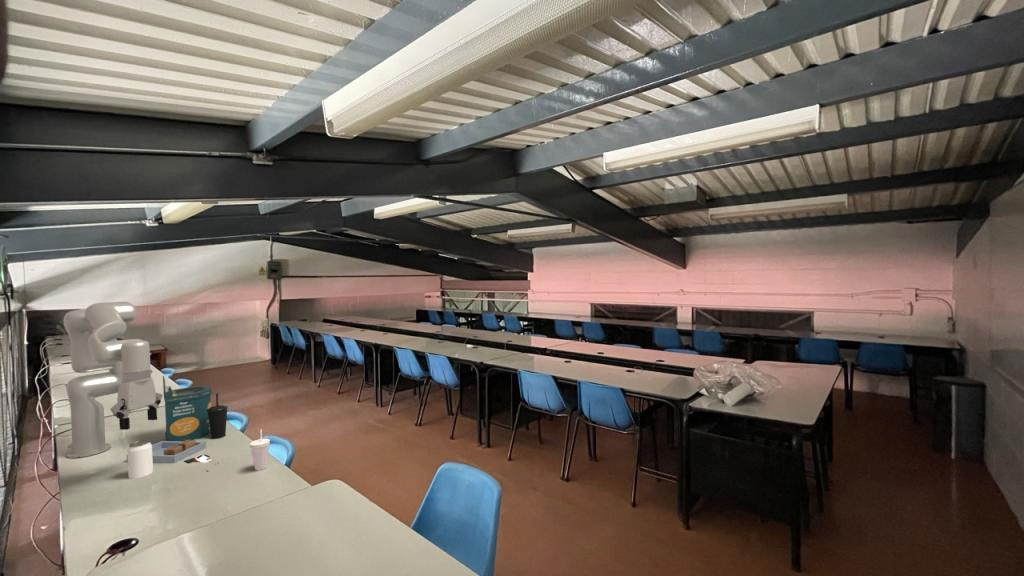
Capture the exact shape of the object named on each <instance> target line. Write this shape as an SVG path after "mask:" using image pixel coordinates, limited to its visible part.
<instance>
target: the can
mask: <svg viewBox="0 0 1024 576" xmlns="http://www.w3.org/2000/svg"><path fill="white" fill-rule="evenodd" d="M152 445H153V444H152V443H151V440H147V439H146V440H140V441H134V442H132V443H129V445H128V449H127V455H128V462H127V469H128V471H127V473H128V479H140V478H143V477H146V476H149V475H151V474H153V472H154V466H153V465H154V463H153V458H152Z"/></svg>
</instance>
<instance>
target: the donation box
mask: <svg viewBox="0 0 1024 576" xmlns="http://www.w3.org/2000/svg"><path fill="white" fill-rule="evenodd" d="M162 385H163V387H162V388H163V399H164V411H165V413H164V414H165V415H164V416H165V432H164V434H165V435H164V436H165V441H182V442H183V441H186V440H199V439H203V438H205V437H207V436H209V435H211V431H210V424H209V418H208V412H207V409H209V408H210V407H212V403H211V402H212V401H211V400H212V399H211V398H212V397H211V395H212V388H211V387H210V386H209V385H196V386H191V387H190V386H188V387H183V388H177V389H172V386H171V385H169V386H168V385H166V380H165V376H164V375H162Z"/></svg>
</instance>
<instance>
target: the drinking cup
mask: <svg viewBox="0 0 1024 576" xmlns="http://www.w3.org/2000/svg"><path fill="white" fill-rule="evenodd" d="M215 400H216V401H215V405H211V407H210V408H209V409H207V412H208V418H209V424H210V431H211V434H210V436H211V439H212V440H217V439H222V438H224V437H226V431H227V421H228V420H227V419H228V418H227V416H228V408H229V406H228V405H225V404H219V393H215Z"/></svg>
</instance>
